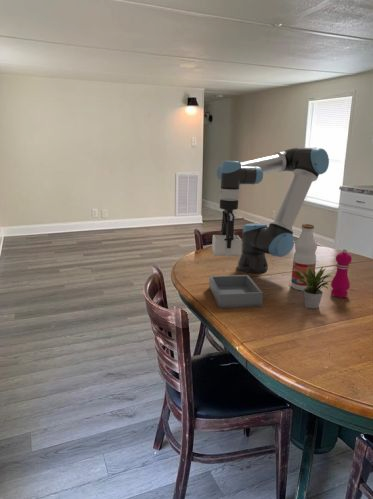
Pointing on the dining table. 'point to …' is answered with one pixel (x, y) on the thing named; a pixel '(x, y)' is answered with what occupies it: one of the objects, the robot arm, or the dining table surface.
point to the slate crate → (235, 291)
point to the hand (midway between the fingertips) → (225, 252)
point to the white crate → (219, 245)
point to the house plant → (314, 287)
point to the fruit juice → (303, 257)
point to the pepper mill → (341, 275)
